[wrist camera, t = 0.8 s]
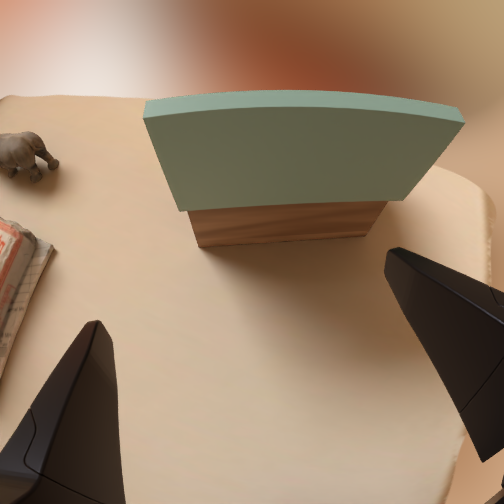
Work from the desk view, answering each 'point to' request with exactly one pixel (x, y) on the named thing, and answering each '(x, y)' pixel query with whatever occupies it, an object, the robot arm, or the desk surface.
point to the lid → (295, 146)
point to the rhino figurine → (24, 153)
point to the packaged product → (17, 279)
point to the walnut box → (283, 222)
